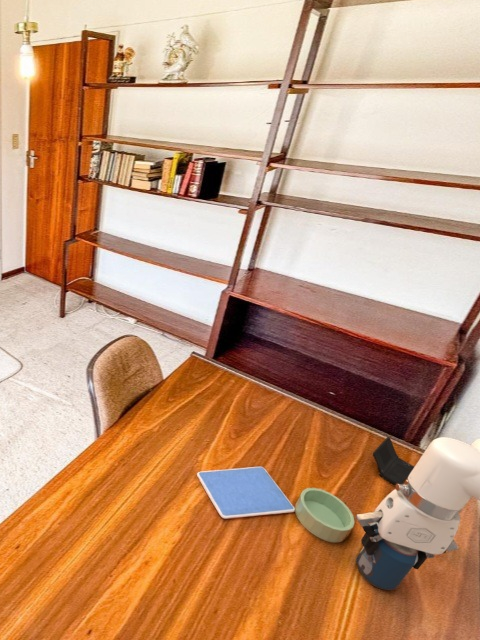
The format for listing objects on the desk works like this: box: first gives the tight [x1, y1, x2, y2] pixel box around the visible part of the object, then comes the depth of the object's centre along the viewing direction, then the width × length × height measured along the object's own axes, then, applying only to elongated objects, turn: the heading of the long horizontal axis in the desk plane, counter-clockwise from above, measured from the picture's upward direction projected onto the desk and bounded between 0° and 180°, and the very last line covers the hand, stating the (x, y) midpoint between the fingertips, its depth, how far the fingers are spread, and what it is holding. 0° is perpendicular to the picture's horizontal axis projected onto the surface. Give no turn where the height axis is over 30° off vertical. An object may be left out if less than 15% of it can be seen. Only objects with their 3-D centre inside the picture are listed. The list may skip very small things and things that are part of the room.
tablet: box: [196, 466, 295, 520], centre depth 99 cm, size 19×13×1 cm, turn 97°
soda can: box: [355, 529, 418, 591], centre depth 81 cm, size 7×7×12 cm
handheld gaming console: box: [372, 436, 415, 486], centre depth 106 cm, size 12×7×10 cm
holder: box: [294, 487, 355, 544], centre depth 93 cm, size 10×10×4 cm
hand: (388, 554), depth 80 cm, fingers closed on soda can, 7 cm apart
